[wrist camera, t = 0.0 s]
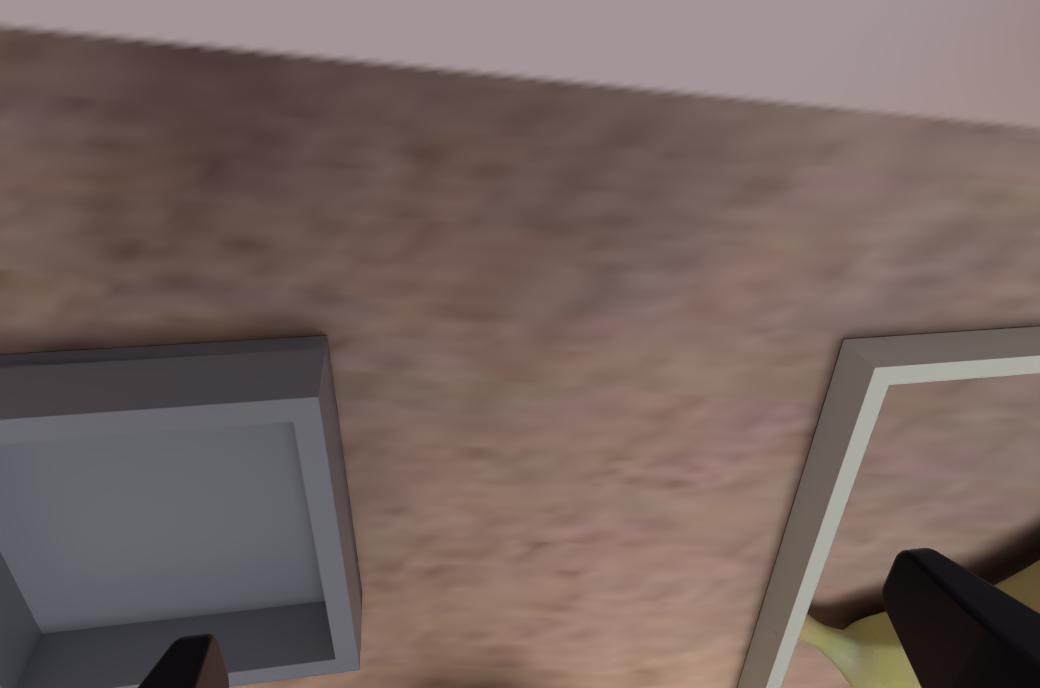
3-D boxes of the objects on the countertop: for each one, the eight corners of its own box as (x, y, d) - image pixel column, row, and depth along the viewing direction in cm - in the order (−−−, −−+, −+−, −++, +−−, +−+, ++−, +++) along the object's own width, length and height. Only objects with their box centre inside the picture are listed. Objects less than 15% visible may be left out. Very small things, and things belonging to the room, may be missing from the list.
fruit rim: (1027, 680, 43) (1053, 711, 41) (725, 727, 40) (740, 762, 38) (1269, 310, 29) (1323, 334, 28) (843, 339, 26) (874, 367, 25)
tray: (362, 594, 29) (359, 669, 26) (35, 631, 27) (-8, 717, 24) (326, 335, 23) (317, 396, 20) (-105, 360, 21) (-186, 433, 18)
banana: (1230, 721, 32) (793, 763, 32) (1128, 638, 37) (753, 674, 38) (1294, 452, 28) (796, 502, 28) (1170, 401, 33) (751, 444, 34)
